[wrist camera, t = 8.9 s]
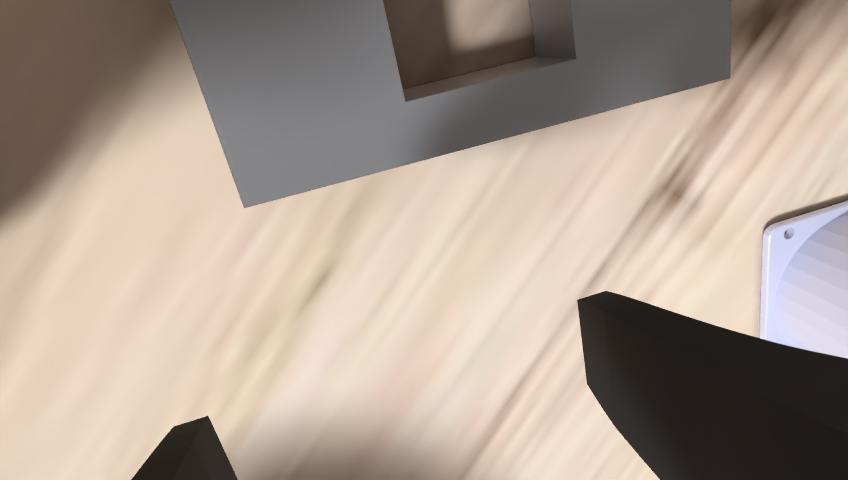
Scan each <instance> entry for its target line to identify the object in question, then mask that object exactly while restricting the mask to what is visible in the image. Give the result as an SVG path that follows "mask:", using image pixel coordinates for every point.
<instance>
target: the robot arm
mask: <svg viewBox="0 0 848 480" xmlns="http://www.w3.org/2000/svg"><path fill="white" fill-rule="evenodd" d="M786 230H787V231H786ZM785 231H786V233H785ZM784 233H785V234H784ZM577 301H578V310H579V318H580V327H581V336H582V344H583V353H584V361H585V370H586V378H587V385H588V386H589V388H590V389H591V391H592V392H593V394H594V396H595V397H596V399H597V400H598V402H599V403H600V405H601V407H602V408H603V410H604V411H605V413H606V414H607V415H608V417H609V418H610V420H611V421H612V423H613V424H614V426H615V427H616V428H617V430H618V431H619V432H620V433H621V434H622V436H623V437H624V438H625V439H626V440H627V441H628V443H629V444H630V445H631V446H632V447H633V449H634V450H635V451H636V452H637V453H638V454H639V456H640V457H641V458H642V459H643V460H644V462H645V463H646V464H647V465H648V466H649V467H650V468H651V470H652V471H653V472H654V473H655V474H656V475H657V477H658V478H659V479H660V480H848V201H845V202H842V203H839V204H835V205H832V206H829V207H826V208H822V209H819V210H816V211H813V212H810V213H806V214H803V215H800V216H797V217H793V218H790V219H787V220H784V221H781V222H777V223H774V224H772V225H770V226H769V227H768V228H767V229H766V230H765V232H764V234H763V251H762V281H761V310H760V338H757V337H753V336H749V335H746V334H742V333H738V332H735V331H731V330H728V329H725V328H721V327H718V326H715V325H712V324H708V323H705V322H702V321H699V320H696V319H693V318H690V317H686V316H683V315H680V314H677V313H674V312H671V311H668V310H665V309H662V308H659V307H656V306H653V305H650V304H647V303H644V302H641V301H638V300H635V299H632V298H629V297H626V296H623V295H619V294H616V293H612V292H608V291H604V292H601V293H598V294H595V295H592V296H588V297H585V298H582V299H579V300H577ZM132 480H238V479H237V477H236V475H235V473H234V471H233V468H232V466H231V464H230V462H229V460H228V458H227V456H226V453H225V451H224V449H223V447H222V445H221V443H220V440H219V438H218V436H217V434H216V432H215V430H214V427H213V425H212V423H211V421H210V419H209V417H208V416H206V417H203V418H200V419H197V420H194V421H190V422H187V423H184V424H181V425H178V426H175V427H173V428H172V429H171V431H170V432H169V433H168V434H167V435H166V436H165V438H164V439H163V440H162V441H161V442H160V444H159V445H158V446H157V447H156V449H155V450H154V451H153V453H152V454H151V455H150V456H149V458H148V459H147V460H146V462H145V463H144V464H143V465H142V467H141V468H140V469H139V471H138V472H137V473H136V474H135V476H134V477H133V478H132Z"/></svg>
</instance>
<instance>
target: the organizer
mask: <svg viewBox="0 0 848 480" xmlns="http://www.w3.org/2000/svg"><path fill="white" fill-rule="evenodd" d="M169 2H170V5H171V7H172V10H173V13H174V16H175V18H176V21H177V24H178V27H179V30H180V32H181V35H182V38H183V41H184V43H185V46H186V49H187V52H188V54H189V57H190V60H191V63H192V65H193V68H194V71H195V74H196V76H197V79H198V82H199V85H200V87H201V90H202V93H203V96H204V98H205V101H206V104H207V107H208V110H209V112H210V115H211V118H212V121H213V123H214V126H215V129H216V132H217V134H218V137H219V140H220V143H221V145H222V148H223V151H224V154H225V156H226V159H227V162H228V165H229V167H230V170H231V173H232V176H233V178H234V181H235V184H236V187H237V190H238V192H239V195H240V198H241V201H242V203H243V206H244V208H247V207H250V206H254V205H258V204H262V203H265V202H269V201H273V200H277V199H280V198H284V197H288V196H291V195H295V194H299V193H303V192H306V191H310V190H314V189H318V188H321V187H325V186H329V185H333V184H336V183H340V182H344V181H347V180H351V179H355V178H359V177H362V176H366V175H370V174H374V173H377V172H381V171H385V170H389V169H392V168H396V167H400V166H404V165H407V164H411V163H415V162H418V161H422V160H426V159H430V158H433V157H437V156H441V155H445V154H448V153H452V152H456V151H460V150H463V149H467V148H471V147H474V146H478V145H482V144H486V143H489V142H493V141H497V140H501V139H504V138H508V137H512V136H516V135H519V134H523V133H527V132H531V131H534V130H538V129H542V128H545V127H549V126H553V125H557V124H560V123H564V122H568V121H572V120H575V119H579V118H583V117H587V116H590V115H594V114H598V113H601V112H605V111H609V110H613V109H616V108H620V107H624V106H628V105H631V104H635V103H639V102H643V101H646V100H650V99H654V98H658V97H661V96H665V95H669V94H672V93H676V92H680V91H684V90H687V89H691V88H695V87H699V86H702V85H706V84H710V83H714V82H717V81H721V80H725V79H728V78H730V51H731V0H529V5H530V13H531V21H532V29H533V37H534V45H535V53H536V56H535V57H531V58H527V59H523V60H519V61H515V62H511V63H507V64H503V65H499V66H495V67H491V68H487V69H483V70H479V71H475V72H471V73H467V74H463V75H459V76H455V77H451V78H447V79H443V80H439V81H435V82H431V83H427V84H423V85H419V86H415V87H411V88H407V89H402V84H401V80H400V75H399V71H398V66H397V62H396V57H395V53H394V48H393V44H392V39H391V34H390V30H389V25H388V21H387V16H386V12H385V7H384V3H383V0H169Z"/></svg>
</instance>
